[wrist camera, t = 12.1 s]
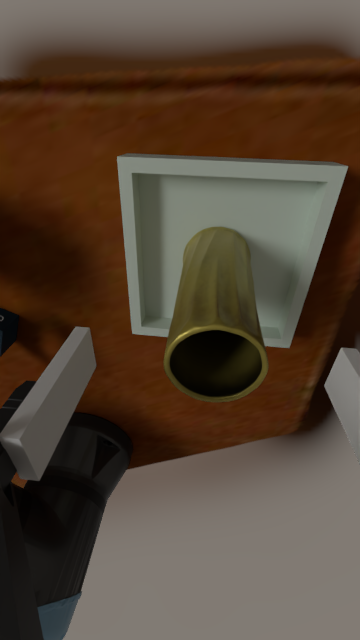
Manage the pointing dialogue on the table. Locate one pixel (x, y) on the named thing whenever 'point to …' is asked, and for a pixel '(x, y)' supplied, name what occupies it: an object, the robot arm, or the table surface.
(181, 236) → the tray
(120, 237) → the table surface
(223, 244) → the vase
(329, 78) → the table surface
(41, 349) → the table surface
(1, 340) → the watch
